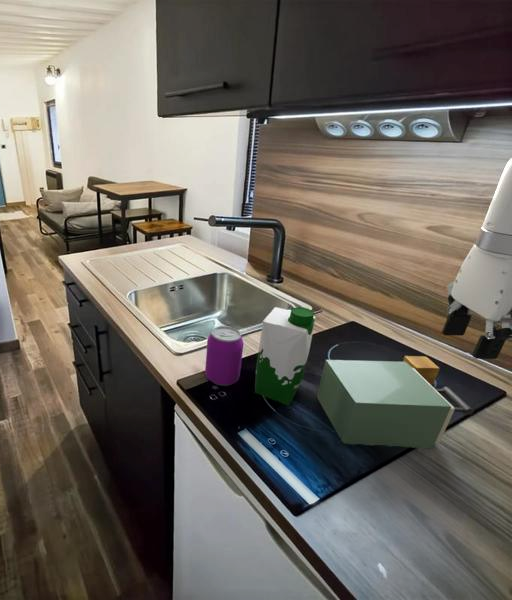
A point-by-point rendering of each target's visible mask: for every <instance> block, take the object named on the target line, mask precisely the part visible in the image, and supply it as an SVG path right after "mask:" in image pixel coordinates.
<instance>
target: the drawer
mask: <svg viewBox="0 0 512 600" xmlns="http://www.w3.org/2000/svg"><path fill="white" fill-rule="evenodd" d="M413 369H414V368H413ZM414 370H415V369H414ZM415 371H416V370H415ZM416 372H417V371H416ZM417 373H418V372H417ZM418 374H419V373H418ZM419 375H420V374H419ZM420 376H421V375H420ZM421 377H422V376H421ZM422 378H423V377H422ZM423 379H424V378H423ZM424 380H425V379H424ZM425 381H426V380H425ZM426 382H427V381H426ZM427 383H428V382H427ZM428 384H429V383H428ZM429 385H430V384H429ZM430 386H431V387H432V388H433V389H434V390H435V391H436V392H437V393H438V394H439V395H440V396H441V397H442V398H443V399H444V400H445V401H446V402H447V403H448V404H449V405H450V406H451V409H450V411H449V413H448V415H447V418H446V420H445V422H444V424H443V426H442V429H441V431H440V433H439V435H438V438H437V440H436V442H435V444H436V443H437V444H440V442H441V440H442V438H443V436H444V434H445V432H446V429H447V427H448V425H449V423H450V421H451V419H452V416H453V414H454V413H463V414H464V415H466V416H470V415H472V414H474V409H473V408H472V407H471V406H470V405H469V404H467V403H466V401H464V400H463V399H462V398H461V397H460V396H459V395H458V394H456V393H455V391H453V390H452V389H451V387H449V386H444V387H442V388H435V387H434V386H433V385H430ZM442 394H443V395H444V396H445V397H446V398H447V399H448V400H449V401H451V402H452V404H453V405H455V406H453V405H452V404H451V403H450V402H449V401H448V400H447V399H446V398H445V397H444V396H443V395H442Z"/></svg>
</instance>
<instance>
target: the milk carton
mask: <svg viewBox="0 0 512 600" xmlns="http://www.w3.org/2000/svg"><path fill="white" fill-rule="evenodd" d="M316 318H317V317H316V316H315V312H314V311H313V310H312V309H310V308H307V307H301V306H300V307H299V306H297V307H293V308H292V309H285V308H281V307H276V306H275V307H274V308H273V309H272V310H271V311H270V313H268V315H267V316H265V318H264V319H263V320H262V324H261V325H262V326H261V331H260V337H259V346H258V352H257V360H256V367H255V379H254V381H255V382H254V394H258V395H260V396H262V397H265V398H268V399H270V400H273V401H275V402H278V403H281V404H283V405H285V406H287V407H288V406H290V405H291V403H292V401H293V400H294V397H295V396H296V393H297V392H298V390H299V387H300V386H301V383H302V382H303V379H304V376H305V372H306V368H307V363H308V358H309V354H310V349H311V344H312V339H313V333H314V328H315V323H316Z"/></svg>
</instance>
